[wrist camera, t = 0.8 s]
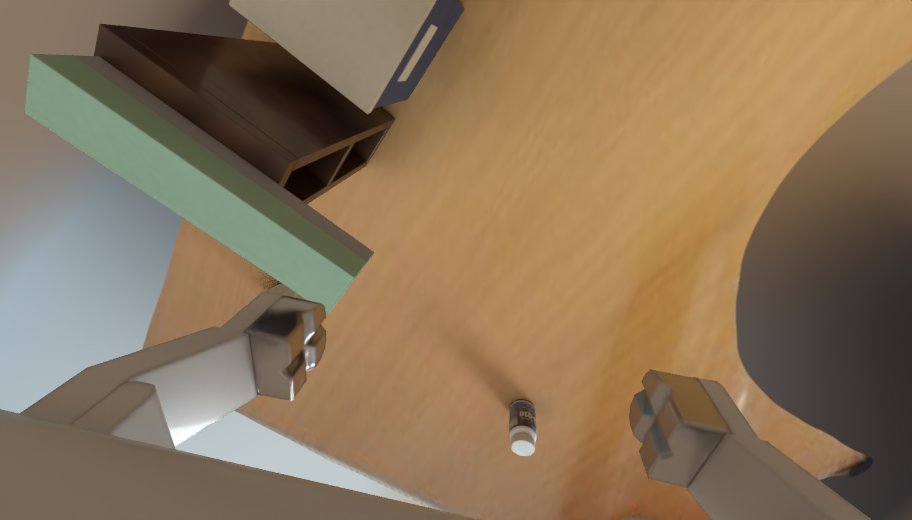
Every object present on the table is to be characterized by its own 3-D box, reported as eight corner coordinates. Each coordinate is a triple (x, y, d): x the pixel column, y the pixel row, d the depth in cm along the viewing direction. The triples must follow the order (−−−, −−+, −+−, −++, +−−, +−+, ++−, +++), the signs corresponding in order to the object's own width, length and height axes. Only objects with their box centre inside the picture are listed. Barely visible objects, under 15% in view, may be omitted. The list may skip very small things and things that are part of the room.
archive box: (466, 8, 42) (444, -20, 29) (408, 101, 48) (367, 114, 35) (361, -87, 40) (284, -165, 27) (312, 23, 45) (228, 4, 32)
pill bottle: (540, 407, 69) (543, 447, 61) (525, 420, 71) (526, 461, 63) (519, 395, 68) (519, 434, 61) (504, 409, 70) (503, 449, 63)
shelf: (395, 119, 49) (289, 162, 26) (365, 166, 52) (249, 241, 30) (304, 45, 46) (99, 22, 24) (279, 100, 50) (80, 127, 27)
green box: (374, 252, 28) (354, 278, 25) (350, 285, 30) (328, 314, 27) (99, 55, 25) (30, 53, 21) (89, 107, 26) (23, 113, 23)
